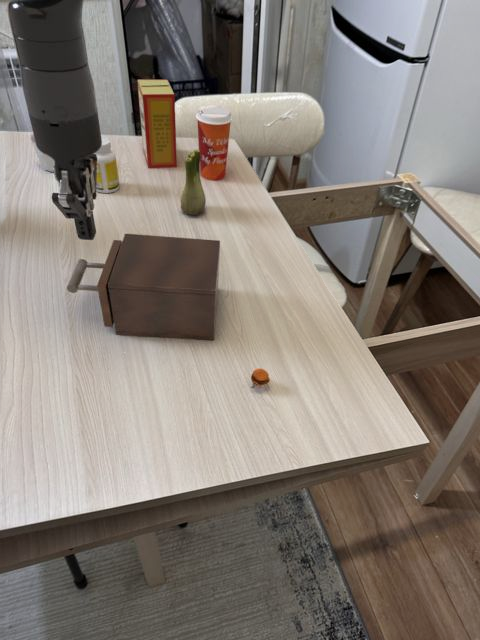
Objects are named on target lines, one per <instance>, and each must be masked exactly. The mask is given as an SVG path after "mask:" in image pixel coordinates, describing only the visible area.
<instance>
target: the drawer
mask: <svg viewBox="0 0 480 640" xmlns="http://www.w3.org/2000/svg"><path fill="white" fill-rule="evenodd" d="M122 241H123V240H120V239H113V240H112V243H111V246H110V249H109V252H108V253H107V256H106V260H105V262H103V263H102V262H88V261H87V260H86V259H85V258H79V259H78V260H77V262H76V265H75V266H74V269H73V271H72V273H71V276H70V278H69V281H68V283H67V285H66V291H68V293H72V294H75V293H77V292H78V291H86V292H87V291H88V292H98V293H97V294H98V298H99V305H100V310H101V315H102V320H103V326H104V328H113V327H114V326H115V324H114V318H113V312H112V306H111V300H110V294H109V288H108V282H109V279H110V276H111V273H112V270H113V267H114V265H115V262H116V259H117V256H118V253H119V250H120V247H121V244H122ZM88 268H89V269H100V270H101V269H102V270H101V273H100V276H99V279H98V282H97V284H96V285H92V284H81V283H82V280H83V278H84V275H85V273H86V270H87V269H88Z"/></svg>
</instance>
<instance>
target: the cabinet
mask: <svg viewBox="0 0 480 640" xmlns="http://www.w3.org/2000/svg"><path fill="white" fill-rule="evenodd" d="M121 241H122V244H121V247H120V250H119V253H118V256H117V259H116V262H115V265H114V267H113V270H112V273H111V276H110V279H109V282H108V288H109V294H110V300H111V306H112V312H113V318H114V329H115V335H117V336H133V337H149V338H151V337H152V338H165V339H166V338H168V339H182V340H199V341H214V340H215V333H216V321H217V320H216V319H217V310H218V309H217V308H218V307H217V306H218V295H219V277H220V276H219V275H220V253H221V252H220V251H221V240H218V239H217V240H216V239H203V238H192V237H177V236H165V235H164V236H162V235H151V234H150V235H149V234H137V233H136V234H135V233H124V236H123V239H122V240H121Z"/></svg>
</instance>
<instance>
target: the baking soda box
mask: <svg viewBox="0 0 480 640" xmlns="http://www.w3.org/2000/svg"><path fill="white" fill-rule="evenodd" d="M136 81H137V93H138V104H139V117H140V127H141V128H140V129H141V142H142V143H141V144H142V151H143V155H144V158H145V161H146V165H147V169H159V168H160V169H161V168H163V169H164V168H177V167H178V161H177V160H178V157H177V129H176V126H177V125H176V124H177V123H176V103H175V102H176V100H175V99H176V97H175V93H174V91H173V88H172V86H171V84H170V82H169V80H168V79H156V78H155V79H145V78H144V79H143V78H141V79H139V78H138V79H136Z"/></svg>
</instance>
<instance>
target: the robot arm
mask: <svg viewBox="0 0 480 640" xmlns="http://www.w3.org/2000/svg"><path fill="white" fill-rule="evenodd" d="M83 7H84V0H8V1H7V5H6V10H7V18H8V22H9V27H10V31H11V35H12V40H13V43H14V48H15V52H16V56H17V60H18V66H19V71H20V72H19V73H20V82H21V88H22V92H23V96H24V101H25V105H26V110H27V113H28V117H29V122H30V125H31V129H32V134H34V138H35V143H36V146H37V148H38V149H39V150H40V151H41V152H42V153H44V154H46V155H48V156H49V157H51V158H52V159H53V160H54V161H55V163H54V164H55V165H54V168H53V171H54V172H53V175H54V179H55V180H56V182H57V183H58V186H59V190H58V192H52V194H51V201H52V204H53V205H55V207H56V209H58V210H59V212H60V213H61V214H62V215H63V216H64V218H65V219H69V220H70V219H72V220H73V221H74V226H75V231H76V235H77V238H78V239H79V240H86V241H92V240H94V239H95V236H96V234H97V229H96V222H95V217H94V210H95V203H94V202H95V200H97V197H98V196H97V191H96V183H97V156H96V154H94V153H96V152H97V151H98V150H99V149H100V148H101V145H102V139H101V137H102V134H101V133H102V131H101V126H100V119H99V113H98V112H99V111H98V106H97V99H96V91H95V86H94V81H93V76H92V73H91V69H90V65H89V62H88V61H89V59H88V53H87V52H88V51H87V46H86V39H85V33H84V26H83V19H82V18H83Z"/></svg>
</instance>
